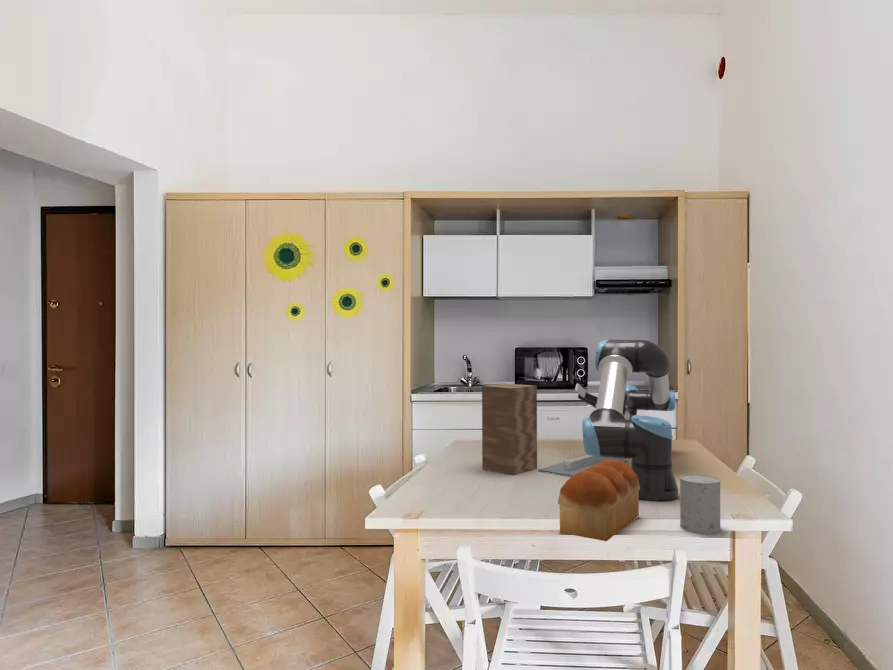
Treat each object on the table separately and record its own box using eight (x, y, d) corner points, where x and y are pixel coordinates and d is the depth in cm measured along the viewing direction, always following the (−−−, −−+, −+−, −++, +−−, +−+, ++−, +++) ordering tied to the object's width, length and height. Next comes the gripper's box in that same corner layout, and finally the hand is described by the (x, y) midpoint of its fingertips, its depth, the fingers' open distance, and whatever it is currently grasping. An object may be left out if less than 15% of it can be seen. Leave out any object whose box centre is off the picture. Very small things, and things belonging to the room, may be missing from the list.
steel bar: (599, 458, 243) (599, 450, 243) (606, 459, 241) (606, 451, 241) (563, 469, 224) (563, 461, 224) (570, 470, 222) (570, 462, 222)
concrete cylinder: (682, 532, 156) (682, 482, 156) (677, 520, 165) (677, 473, 165) (724, 534, 153) (724, 484, 153) (717, 523, 163) (716, 475, 163)
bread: (607, 542, 149) (606, 479, 149) (557, 533, 156) (557, 473, 156) (640, 516, 169) (640, 461, 169) (595, 509, 176) (595, 456, 176)
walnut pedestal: (506, 463, 238) (505, 383, 238) (537, 468, 228) (536, 385, 228) (482, 469, 228) (482, 386, 228) (513, 475, 218) (513, 388, 218)
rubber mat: (590, 456, 251) (590, 454, 251) (627, 461, 240) (627, 460, 240) (538, 471, 225) (538, 469, 225) (577, 478, 214) (577, 476, 214)
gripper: (644, 423, 240) (621, 398, 226) (586, 418, 257) (561, 394, 243) (648, 405, 242) (626, 379, 229) (590, 401, 259) (566, 377, 246)
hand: (592, 387), depth 236 cm, fingers open, 13 cm apart
